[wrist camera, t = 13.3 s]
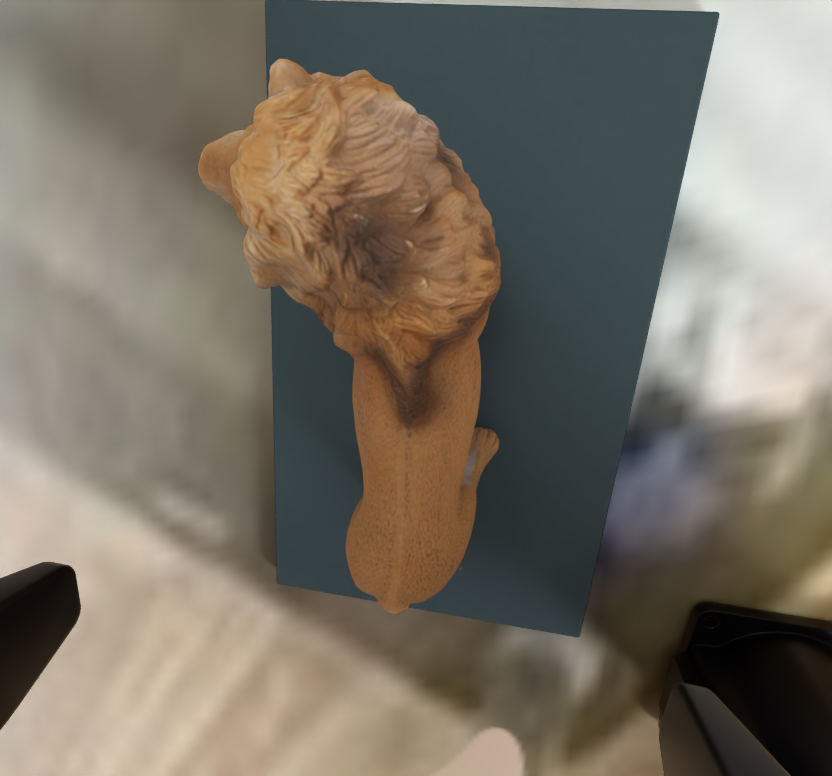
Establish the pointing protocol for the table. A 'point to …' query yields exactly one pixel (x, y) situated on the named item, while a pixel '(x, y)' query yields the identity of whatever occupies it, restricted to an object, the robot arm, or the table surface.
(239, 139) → the lion figurine
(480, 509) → the dark teal mat
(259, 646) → the table surface
